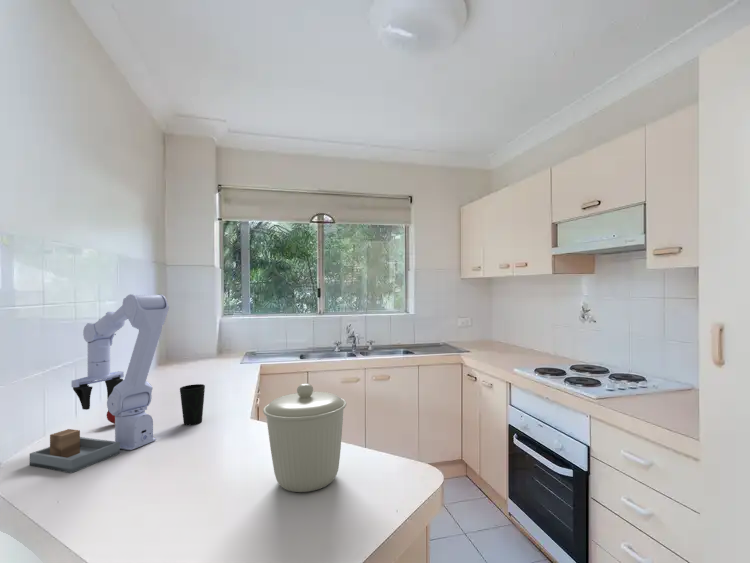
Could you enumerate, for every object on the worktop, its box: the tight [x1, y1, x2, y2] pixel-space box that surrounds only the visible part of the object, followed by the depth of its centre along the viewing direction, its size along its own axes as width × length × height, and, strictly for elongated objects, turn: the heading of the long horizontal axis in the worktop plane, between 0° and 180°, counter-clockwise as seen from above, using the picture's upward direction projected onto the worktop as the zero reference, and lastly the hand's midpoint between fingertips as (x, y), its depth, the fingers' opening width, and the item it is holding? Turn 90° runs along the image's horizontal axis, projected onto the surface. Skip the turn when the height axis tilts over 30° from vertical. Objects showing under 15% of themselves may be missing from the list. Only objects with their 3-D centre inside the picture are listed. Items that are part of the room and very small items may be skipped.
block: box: [49, 428, 81, 458], centre depth 100 cm, size 4×4×6 cm
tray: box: [29, 436, 121, 474], centre depth 99 cm, size 16×12×3 cm
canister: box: [262, 382, 347, 493], centre depth 83 cm, size 18×18×21 cm
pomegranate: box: [106, 409, 115, 425], centre depth 128 cm, size 6×6×8 cm
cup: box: [179, 383, 206, 426], centre depth 127 cm, size 8×8×12 cm
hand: (99, 405), depth 117 cm, fingers open, 7 cm apart
